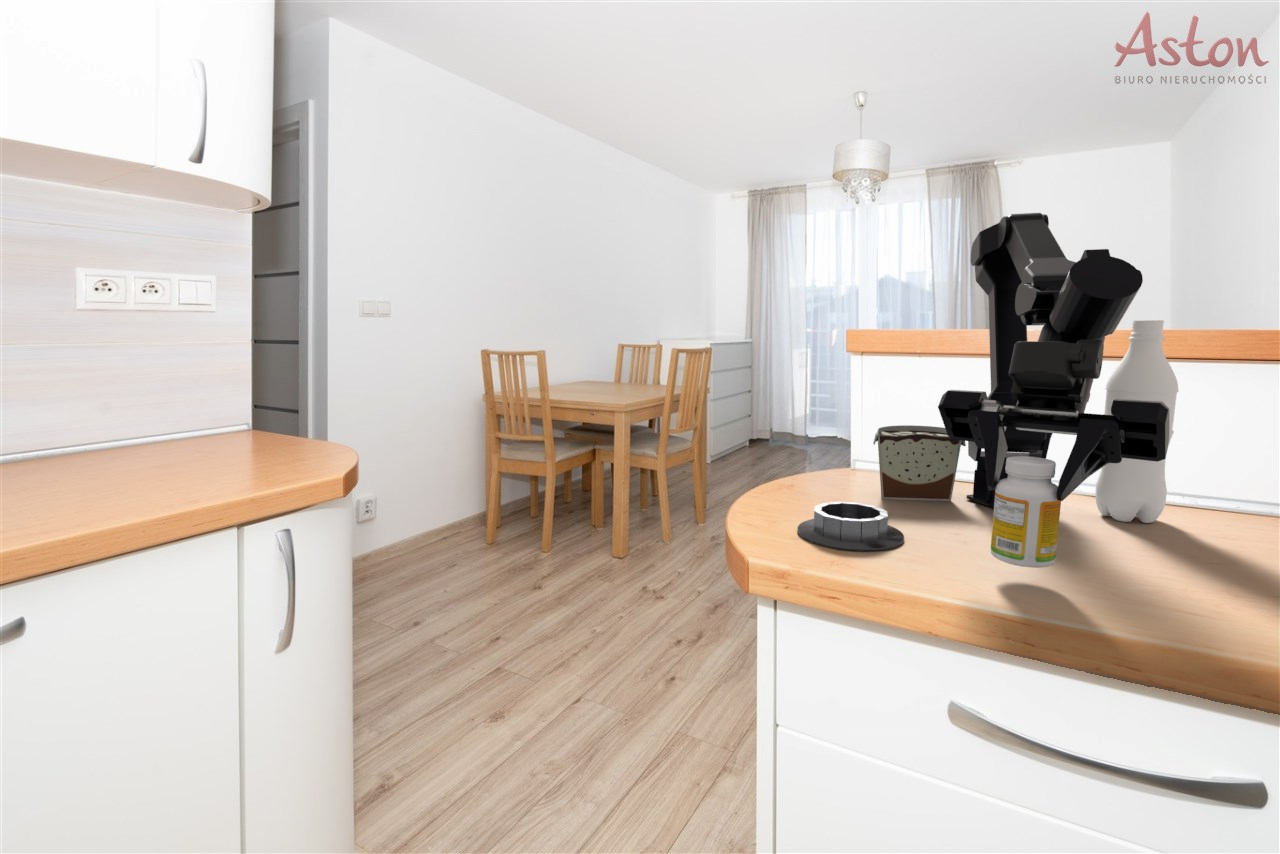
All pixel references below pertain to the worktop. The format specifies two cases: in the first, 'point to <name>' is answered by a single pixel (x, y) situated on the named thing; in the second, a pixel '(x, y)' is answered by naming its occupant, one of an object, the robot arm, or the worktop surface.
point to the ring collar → (850, 527)
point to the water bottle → (1142, 379)
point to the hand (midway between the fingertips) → (1023, 492)
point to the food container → (917, 462)
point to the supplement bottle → (1026, 513)
